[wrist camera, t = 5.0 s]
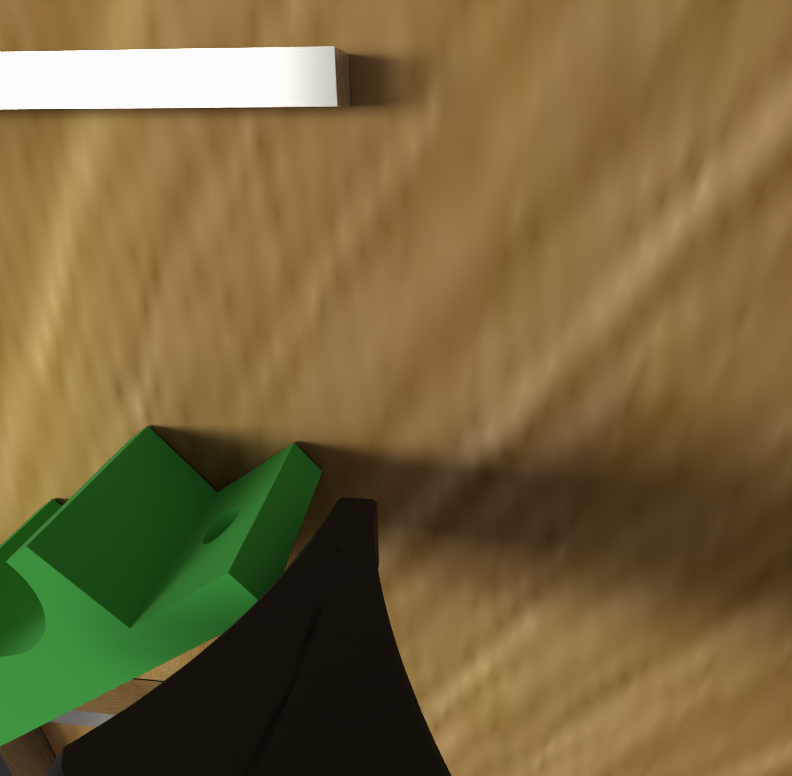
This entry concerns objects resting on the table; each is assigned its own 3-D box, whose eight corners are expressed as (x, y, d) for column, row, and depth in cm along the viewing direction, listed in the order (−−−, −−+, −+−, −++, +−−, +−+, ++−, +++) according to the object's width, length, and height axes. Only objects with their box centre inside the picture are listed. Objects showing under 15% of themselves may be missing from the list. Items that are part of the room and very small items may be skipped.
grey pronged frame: (348, 53, 9) (330, 43, 8) (384, 938, 26) (380, 982, 25) (-368, 65, 10) (-487, 59, 9) (111, 901, 27) (93, 941, 26)
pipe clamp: (225, 364, 12) (121, 475, 8) (323, 469, 13) (271, 609, 10) (-14, 549, 16) (-163, 686, 12) (78, 620, 17) (-31, 766, 13)
